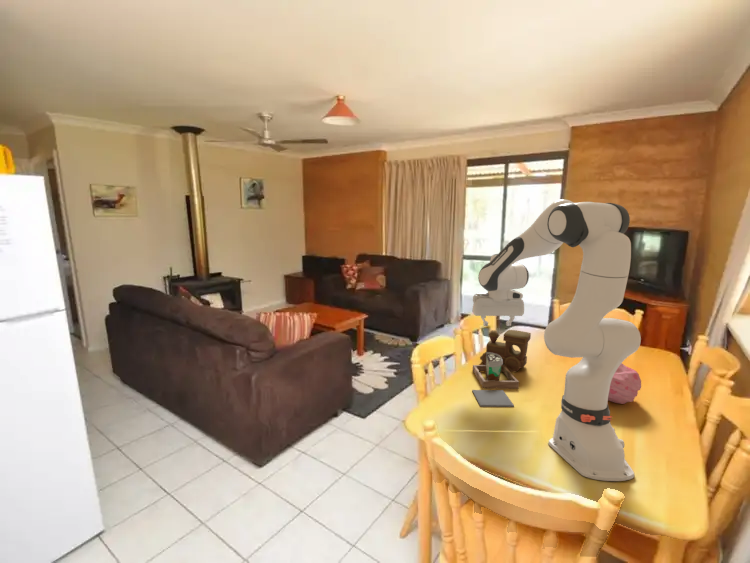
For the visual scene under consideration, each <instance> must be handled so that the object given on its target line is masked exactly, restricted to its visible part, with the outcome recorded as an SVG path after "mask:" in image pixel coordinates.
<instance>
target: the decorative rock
mask: <svg viewBox="0 0 750 563" xmlns="http://www.w3.org/2000/svg"><path fill="white" fill-rule="evenodd" d="M641 389H642V380H641V377H640V374H639V373H638V372H637V371H636V370H635V369H633V368H631V367H628V366H626V365H624V364H623V362H622V363H621V364H620V366H619V367H618V369H617V370H616V372H615V374H614V375H613V378H612V380H611V384H610V389H609V395H608V401H610V402H611V403H615V404H622V405H625V404H627V403H630V402H631V403H632V402H633V401H634V400H635V398H636V397H637V396H638V395H639V394H638V393H639V392H638V391H641Z"/></svg>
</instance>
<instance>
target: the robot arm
mask: <svg viewBox="0 0 750 563" xmlns="http://www.w3.org/2000/svg"><path fill="white" fill-rule="evenodd" d="M630 220H631V217H630V213H629V211H628V209H626V208H625V207H624V206H622V205H620V204H617V203H613V202H605V203H604V202H593V201H581V202H574V201H571V200H569V199H563V198H562V199H557V200H555V201H553V202H552V203H551V204H549V206H547V207H546V208H545V209H544V210H543V211H542V212H541V213H540V215H539V216H538V217H537V218H536V219H535V220H534V222H533V223H532V224H531V225H530V226H529V227H528V228H527V229H526V230H525V231H524V232H522V233H521V234H519V235H518V236H516V237H515V238H513V239H512V240H510V241H509V242H508V243H507V244H506V245H505V246H504V247H503V248H502V249H501V250H500V251H499V253H496V254H492V255H491V257H490V261H489V262H488V263H486V264H484V265H483V266H482V267H481V269H480V271H479V273H478V276H477V277H478V283H479V285H480V286H481V287H482V288H483V290H484V289H485V290H486V291H487V292H477V293H475V294H474V295H473V296H472V303H473V305H472V313H473V315H475V316H477V317H479V316H480V318H481V320H482V322H483V326H484V327H488V326H489V322H488V321H487V320H486V318H487V317H509V319H508V320H507V321H506V322H505V325H506V327H511V326H512V322H513V321H514V319H516V318H515V317H522V316H523V315H524V314H525V303H524V300H523V298H524V297H523V296H524V295H523V293H522V292H520V291H517V290H518V289H519V290H520V289H523V288H524V287H526V286H527V285H528V283H529V278H530V273H529V270H528V269H527V267H526V266H525V265H523V264H521V263H518V261H521V260H524V259H529V258H533V257H541V256H546V255H550V254H552V253H554V252H555V251H556V250H557V249H559V248H560V247H561V246H562V245H563V244H566V245H567V246H568V247H571V248H577V247H578V246H579V247H580V248H581V250H582V261H581V265H580V270H579V276H578V280H577V286H576V290H575V293H574V296H573V297H572V300H571V302H570V303H569V305H568V307H567V308H565V310H564V311H563V312H562V314H561V315H559V316H558V317H556V318H555V319H553V320H552V321H551V322H550V321H549V323H548V324H547V326H546V328H545V329H544V332H543V333H544V334H543V340H544V344H545V346H546V348H547V349H548V351H549V352H550V353H551V354H553V355H555V356H560V357H565V358H581V359H580V361H579V362H578V363H576V364H575V365H572V366H571V367H570V368H569V369H568V370H567V371H566V373H565V377H564V378H565V380H564V391H563V394H562V396H561V400H560V401H561V402H560V406H561V407H560V408H561V411H560V413H559V414H558V416H557V417H556V419H555V423H554V429H553V434H552V435H553V436H552V437H551V438H550V439H548V445H549V446H550V447H551V448H552V449H553V450H554V451H555V452H556V453H557V454H558V455H559V456H560V457H562V458H563V459H564V460H565V462H567V463H568V464H569V465H570V466H571V467H573V469H575V470H576V471H577V473H579V474H580V475H581V476H582V477H586V478H588V479H592V480H596V481H597V480H598V481H605V482H622V481H623V482H624V481H628V480H629V481H630V480H632V479H634V478H635V472H634V470H633V469H632V467H631V465H629V463H628V462H627V460H626V459H625V457H626V456H625V455H626V454H625V449H624V448H625V441H624V440H623V439H622V438H619V437H618V435H617V434H616V430H615V428H614V427H613V426H612V424H611V421H612V420H613V416H611V415H610V414H611V410H610V407H609V404H608V401H609V400H608V395H609V389H610V384H611V380H612V378H613V375H614V374H615V372H616V370H617V369H618V367H619V366H620V364H621V363H622V364H623V362H624V361H625V360H626V359H627V358H629V356H631V355H633V354H634V353H636V352H637V351H638V350H639V348H640V345H641V340H642V338H641V332H640V330H639V329H638V327H637V326H636V325H635V324H634V323H633V322H631V321H629V320H624V319H619V318H614V317H605V316H606V315H608V314H609V313H610V312H612V311H613V310H615V309H617V308H618V307H620V305H621V304H622V303H623V301H624V297H625V293H626V289H627V283H628V279H629V273H630V268H631V261H632V260H631V259H632V242H631V240H630V237H628V236H627V235H626V234H625V233H626V232H627V230H628V228H629V226H630V222H631V221H630Z"/></svg>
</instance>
